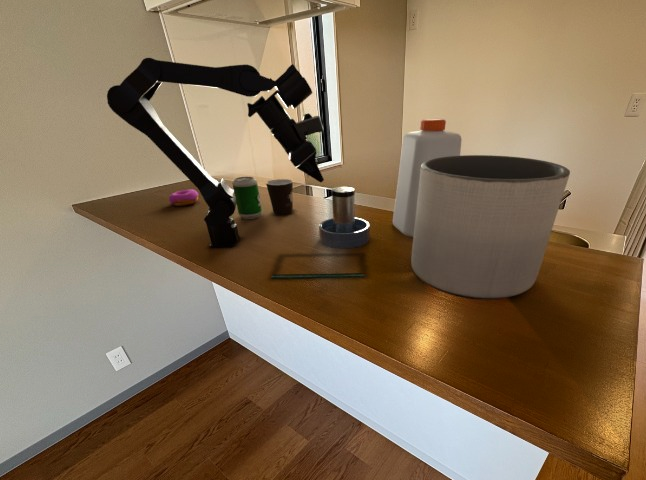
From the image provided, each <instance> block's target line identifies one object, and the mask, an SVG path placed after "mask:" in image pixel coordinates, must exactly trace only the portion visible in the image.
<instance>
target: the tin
mask: <svg viewBox="0 0 646 480" xmlns="http://www.w3.org/2000/svg"><path fill="white" fill-rule="evenodd" d="M355 194H356V189H355V188H354V187H351V186H338V187H333V188H332V189H331V202H332V203H331V204H332V218H333V224H334V233H352V232H355V218H356V215H355V212H356V211H355V210H356V209H355V205H356V204H355Z"/></svg>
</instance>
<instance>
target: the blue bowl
mask: <svg viewBox="0 0 646 480" xmlns="http://www.w3.org/2000/svg"><path fill="white" fill-rule="evenodd" d="M318 232H319V234H318V235H319V242H320V243H321V244H322V245H323V246H326V247H328V248H332V249H339V250H340V249H343V250H344V249H346V250H347V249H354V248H359V247H362V246H364V245H366V244H368V242H369V241H370V223H369V221H367V220H365V219H363V218H359V217H355V232H352V233H334V224H333V217H332V218H328V219H325V220H323V221H321V222H320V223H319V225H318Z"/></svg>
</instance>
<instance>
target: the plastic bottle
mask: <svg viewBox="0 0 646 480" xmlns="http://www.w3.org/2000/svg"><path fill="white" fill-rule="evenodd" d="M446 124H447V121H446V119H445V118H423V119H422V120H420V127H419V130H417V131H407V132H405V134H404V135H403V137H402V142H401V152H400V161H399V166H398V167H399V168H398V175H397V182H396V183H397V184H396V192H395V201H394V207H393V216H392V225H393V226H394V227H395V228H396V229H397V230H398V231H399V232H400V233H401V234H403V235H404V236H406V237H408V238H413V237H414V228H415V219H416V210H417V201H418V191H419V181H420V170H421V165H422V163H424V162H425V161H428V160H431V159H435V158H441V157H449V156H461V149H462V136H461V134H459V133H457V132H453V131H447V130H446Z"/></svg>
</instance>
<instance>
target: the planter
mask: <svg viewBox="0 0 646 480" xmlns="http://www.w3.org/2000/svg"><path fill="white" fill-rule="evenodd" d="M570 174H571V171H570V169H569V168H568V167H566V166H563V165H561V164H558V163H555V162H551V161H548V160H547V161H546V160H541V159H536V158H529V157H521V156H520V157H519V156H510V155H509V156H508V155H489V154H488V155H486V154H471V155H470V154H469V155H467V154H466V155H465V154H464V155H460V156H449V157H441V158H435V159H431V160H428V161H425V162H424V163H422V165H421V170H420V181H419V191H418V201H417V210H416V219H415V228H414V237H412V238H413V239H412V248H411V256H410V257H411V259H410V260H411V261H410V262H411V269H412V271H413V273H414V274H415V276H416V277H417V278H418V279H419V280H421V281H422V282H423V283H425V284H426V285H428V286H429V287H431V288H433V289H435V290H437V291H439V292H442V293H445V294H447V295H450V296H454V297H457V298H463V299H469V300H477V301H478V300H480V301H481V300H482V301H483V300H484V301H495V300H502V299H508V298H513V297H516V296H519V295H522V294H523V293H525V292H527V291H529V290H530V289H531V288H532V287H533V286H534V284H535V282H536V281H537V278H538V276H539V272H540V270H541V266H542V263H543V260H544V256H545V254H546V250H547V247H548V244H549V242H550V237H551V234H552V231H553V228H554V224H555V222H556V218H557V216H558V212H559V209H560V206H561V202H562V200H563V197H564V193H565V190H566V188H567V184H568V180H569V178H570Z"/></svg>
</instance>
